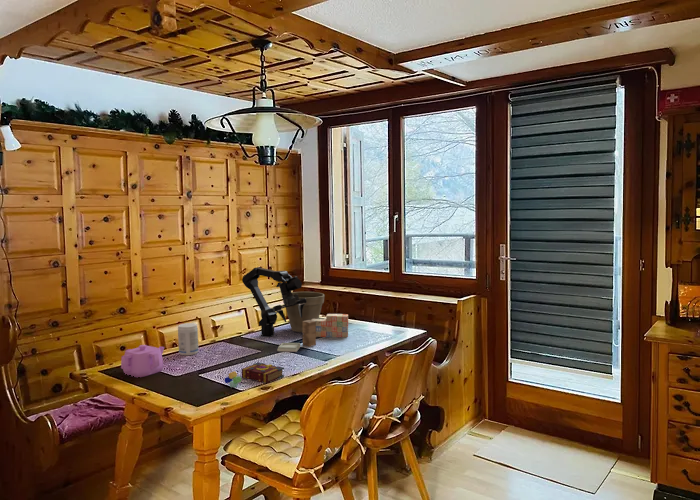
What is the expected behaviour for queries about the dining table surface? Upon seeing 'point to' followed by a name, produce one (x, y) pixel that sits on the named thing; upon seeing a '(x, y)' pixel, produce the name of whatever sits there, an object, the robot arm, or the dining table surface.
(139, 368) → the teakettle
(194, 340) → the supplement tub
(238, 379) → the dice
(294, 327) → the plant pot
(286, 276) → the robot arm
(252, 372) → the decorative book
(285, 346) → the cream square tray
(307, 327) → the walnut post
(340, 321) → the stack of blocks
